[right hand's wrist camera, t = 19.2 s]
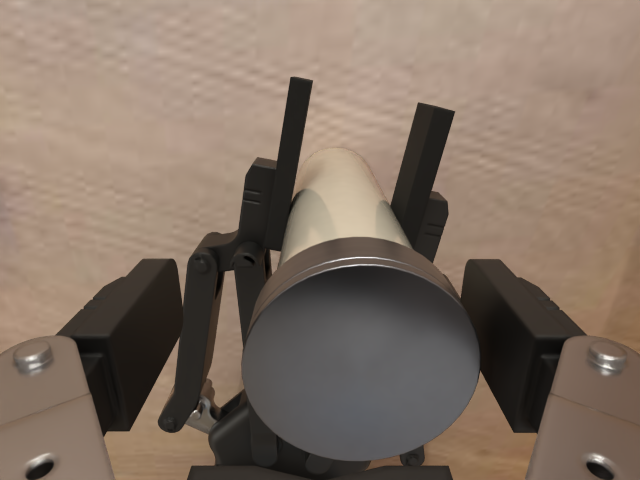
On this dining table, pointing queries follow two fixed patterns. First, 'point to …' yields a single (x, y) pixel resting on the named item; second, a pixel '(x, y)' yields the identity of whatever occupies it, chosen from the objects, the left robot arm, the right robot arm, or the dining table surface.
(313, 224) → the cream capped cylinder
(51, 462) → the right robot arm
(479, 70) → the dining table surface
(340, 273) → the lid
